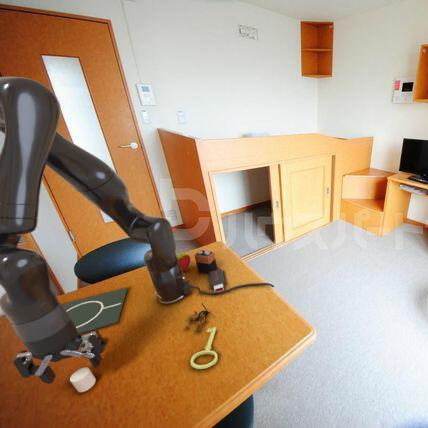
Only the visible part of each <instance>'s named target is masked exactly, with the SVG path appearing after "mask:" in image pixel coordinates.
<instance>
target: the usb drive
mask: <svg viewBox="0 0 428 428" xmlns="http://www.w3.org/2000/svg"><path fill="white" fill-rule="evenodd" d="M208 275H209V282H210V287H211V290H212V291H214V292H221V291H225V287H226V281H225V276H224V272H223V269H222V268H217V269H216V270H214V271H210V272H209V274H208Z"/></svg>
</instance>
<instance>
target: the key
mask: <svg viewBox="0 0 428 428" xmlns="http://www.w3.org/2000/svg"><path fill="white" fill-rule="evenodd" d="M216 331H217V327H216V326H214V327H212V328H207V330H206V333H209V334H210V335H209V336H208V340H207V343H206V345H205V346H204V350H200V351H198V352H195V353H194V354H193V355H192V357H191V358H190V361H189V362H190V366H191V368H193V369H196V370H203V369H208V368H210V367H211V368H212V367H213V366H214V365H216V363H218V361H219V359H218V358H219V356H218V353H217V352H216V351H214V350H212V344H213V341H214V337H215V334H216ZM205 355H211V356H214V358H213V360H211V361H210V362H208V363H206V364H197V363H195V360H196V359H197V358H198V357H200V356H205Z"/></svg>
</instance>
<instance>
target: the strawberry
mask: <svg viewBox="0 0 428 428" xmlns="http://www.w3.org/2000/svg"><path fill="white" fill-rule="evenodd" d="M178 253H179V254H176V256H177V259H178V262H179V266H180V268H181V269H182V272H187V271H188V269H189V268H190V264H191V257H190V255H189V254H187V253H186V252H183V253H181V252H179V251H178Z"/></svg>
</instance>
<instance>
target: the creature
mask: <svg viewBox="0 0 428 428" xmlns="http://www.w3.org/2000/svg"><path fill="white" fill-rule="evenodd" d="M201 305H202V308H204V310H201V311H200V312H199V313H198V312H197V311H193V314H192V315H191V316H190V318H189V321H190V322H188V324H187V325H186V327H185V328H187V330H188V329H189V327H191V326H193V323H194V322H200V324H201V325H198V328H197V332H196V333H199V332H201V331H202V330H203V327H204V324H206V322H207V321H206V320H207V317H208V316H209V314H210V311H208V309H207V308H206V306H205V305H204V303H203V301H202V302H201ZM194 313H195V314H194ZM193 316H197V317H195V318H192V317H193ZM203 316H204V322H202V317H203ZM200 326H201V328H200ZM199 329H200V330H199Z"/></svg>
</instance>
